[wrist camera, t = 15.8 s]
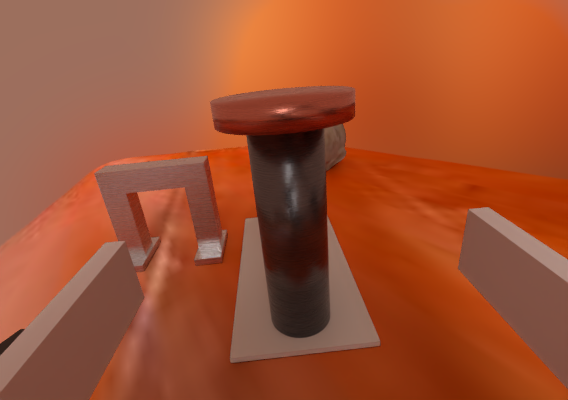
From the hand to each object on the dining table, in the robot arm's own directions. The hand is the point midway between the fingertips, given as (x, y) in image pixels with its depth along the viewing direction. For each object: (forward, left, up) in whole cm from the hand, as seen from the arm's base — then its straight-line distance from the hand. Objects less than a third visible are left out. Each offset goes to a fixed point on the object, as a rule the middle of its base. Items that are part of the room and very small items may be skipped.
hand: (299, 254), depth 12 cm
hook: (0, -14, -9) cm, 17 cm away
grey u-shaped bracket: (+11, -16, -9) cm, 21 cm away
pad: (0, -12, -9) cm, 15 cm away
